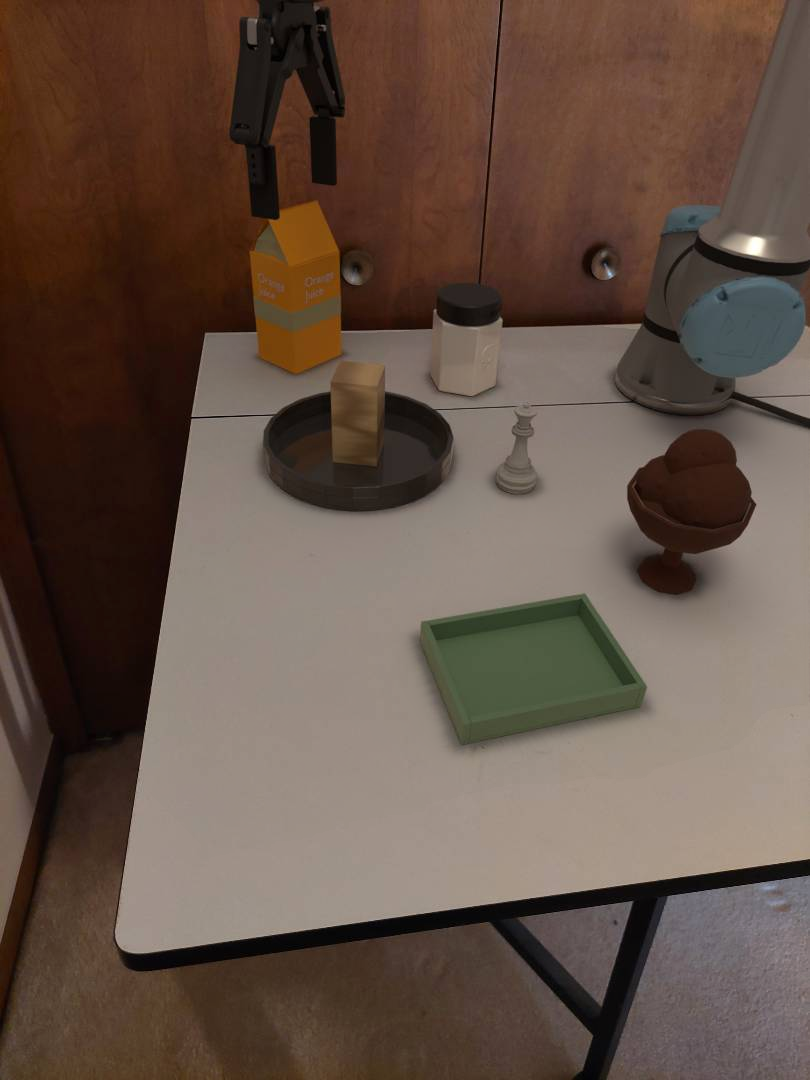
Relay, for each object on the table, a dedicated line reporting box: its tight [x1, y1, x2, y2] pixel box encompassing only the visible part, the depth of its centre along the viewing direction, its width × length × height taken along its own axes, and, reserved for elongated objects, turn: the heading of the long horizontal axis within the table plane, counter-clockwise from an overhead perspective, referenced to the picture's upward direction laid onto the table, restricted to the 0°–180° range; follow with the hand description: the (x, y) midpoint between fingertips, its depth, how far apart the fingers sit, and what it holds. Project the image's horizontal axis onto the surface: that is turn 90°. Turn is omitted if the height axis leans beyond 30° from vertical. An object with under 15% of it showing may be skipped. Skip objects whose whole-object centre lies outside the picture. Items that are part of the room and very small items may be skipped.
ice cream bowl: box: [626, 428, 758, 596], centre depth 72 cm, size 11×11×15 cm
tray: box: [419, 592, 648, 746], centre depth 66 cm, size 15×11×2 cm
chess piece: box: [495, 401, 538, 495], centre depth 85 cm, size 4×4×10 cm
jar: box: [429, 282, 504, 397], centre depth 103 cm, size 9×8×12 cm
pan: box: [262, 390, 455, 512], centre depth 91 cm, size 21×21×3 cm
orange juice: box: [249, 199, 342, 375], centre depth 105 cm, size 8×9×20 cm
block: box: [329, 360, 386, 467], centre depth 88 cm, size 5×5×10 cm
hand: (296, 199), depth 83 cm, fingers open, 13 cm apart
